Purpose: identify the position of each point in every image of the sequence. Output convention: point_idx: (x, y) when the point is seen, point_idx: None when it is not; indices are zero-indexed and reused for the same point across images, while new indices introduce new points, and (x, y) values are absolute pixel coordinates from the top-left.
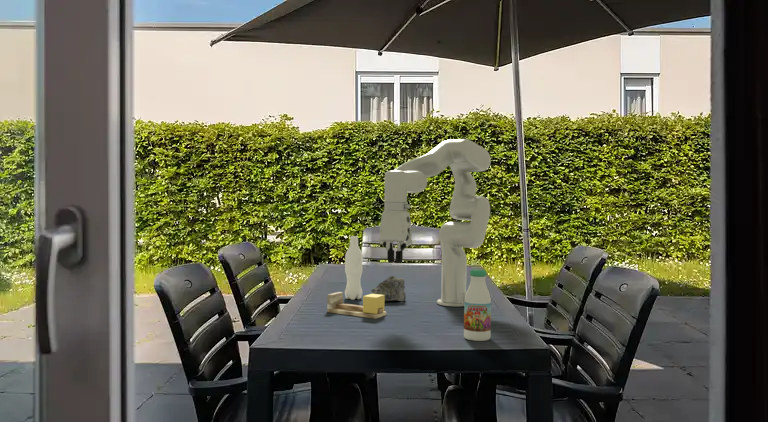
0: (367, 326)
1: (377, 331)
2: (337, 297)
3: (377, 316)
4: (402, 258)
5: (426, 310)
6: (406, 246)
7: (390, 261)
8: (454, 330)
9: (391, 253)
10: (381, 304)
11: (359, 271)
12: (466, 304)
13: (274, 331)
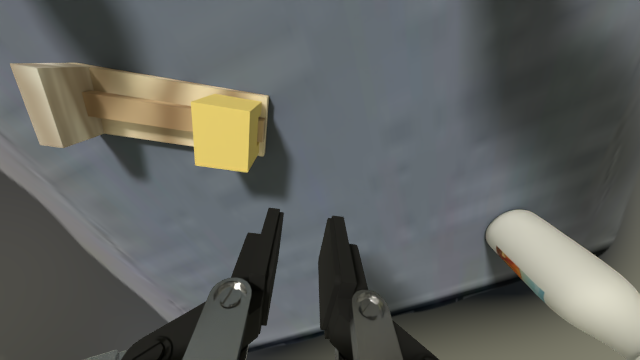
0: (282, 224)
1: (317, 248)
2: (65, 109)
3: (264, 148)
4: (357, 247)
5: None
6: (428, 352)
7: (278, 255)
8: (469, 189)
9: (271, 292)
10: (256, 126)
11: None
12: (541, 299)
13: (156, 303)
